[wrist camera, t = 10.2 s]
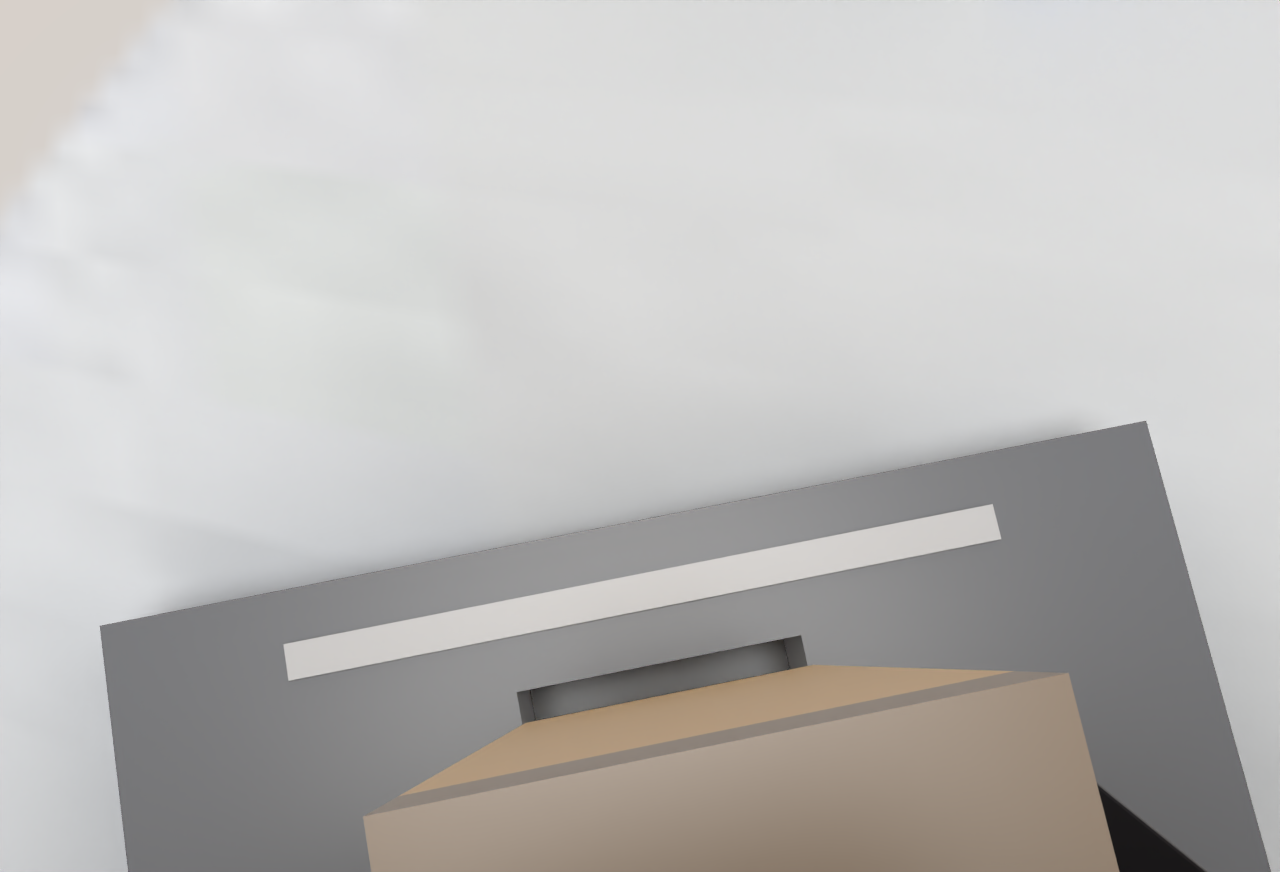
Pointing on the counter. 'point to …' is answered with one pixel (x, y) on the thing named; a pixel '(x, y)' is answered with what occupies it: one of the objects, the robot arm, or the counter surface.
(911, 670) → the plug
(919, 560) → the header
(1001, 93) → the counter surface
